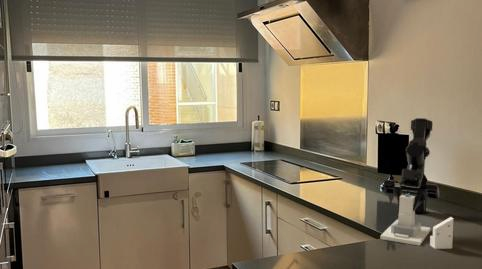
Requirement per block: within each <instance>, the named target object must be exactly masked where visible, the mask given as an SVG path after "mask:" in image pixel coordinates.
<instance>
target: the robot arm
mask: <svg viewBox="0 0 482 269" xmlns="http://www.w3.org/2000/svg"><path fill="white" fill-rule="evenodd" d="M433 124H434V123H433V121H432V120H430V119H427V118H423V117H422V118H421V117H420V118H418V117H416V118H414V119H413V120H412V119H411V120H410V130H411V131H412V137H413V138H412V139H411V140H409V142H408V146H406V148H405V151H404V152H405V156H406V158H407V159H406V160H407V163H408V164H407V166H406V168H402V170H401V177H400V178H401V179H402V180H401V182H402V183H403V184H402V183H399V182H397V181H396V180H395V179H385V180H384V181H383V183H382V186H383V190H384V192H385V194H388V195H389V194H390V195H394V197H396V199H397V204H398V205H397V206H398V208H399V199H400V196H401V195H403V191H404V192H406V194H409V196H415V202H414V205H413V211H415V215H420V214H422V215H423V214H427V213H430V211H429V210H427V201H428V200H429V199H431V200H439V199H440V189H439V186H438V184H436V183H435V184H433V183H428V178H427V177H426V174H425V167H426V166H425V164H426V159H427V158H428V157H429V156H430V154H431V153H430V149H429V147H427V141H428V140H429V138H430V137H431V132H433V126H434V125H433Z"/></svg>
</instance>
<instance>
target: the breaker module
mask: <svg viewBox="0 0 482 269" xmlns="http://www.w3.org/2000/svg"><path fill="white" fill-rule="evenodd" d="M414 202H415V196H409V194H407V193H405V194H402V195H401V196H400V199H399V207H398V218H397V219H398V226H401V227H408V228H413V227H414V226H415V225H416V214H415V211H413V205H414Z"/></svg>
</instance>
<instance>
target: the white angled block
mask: <svg viewBox="0 0 482 269" xmlns="http://www.w3.org/2000/svg"><path fill="white" fill-rule="evenodd" d="M453 233H454V218H453V217H452V216H449V217H448V218H446V219H445V220H443V221H441V222H440V223H438V224H436V225H434V226H433V227H432V235H430V236H429V246H430V247H431V248H433V249H435V250H441V249H443V250H444V249H445V250H446V249H453V236H454V235H453Z"/></svg>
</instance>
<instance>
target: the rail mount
mask: <svg viewBox="0 0 482 269" xmlns="http://www.w3.org/2000/svg"><path fill="white" fill-rule="evenodd" d="M430 232H431V227H427V226H422V222H415V226H414V227H413V228H408V227H401V226H398V218H397V219H396V220H394V221H393V223H392V224H391V225H389V226H388V227H387V228H386V229H385V230H384V231H383V233H381V235H380V238H379V239H380V240H383V241H384V240H385V241H389V242H397V243H401V244H402V243H403V244H409V245H413V246H418V247H419V246H421V245H422V243H423V241H424V240H425V239H426V238H427V236H428V235H429V233H430Z"/></svg>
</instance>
